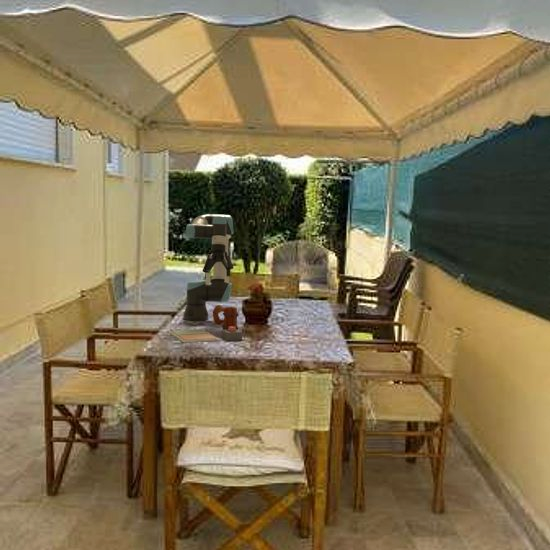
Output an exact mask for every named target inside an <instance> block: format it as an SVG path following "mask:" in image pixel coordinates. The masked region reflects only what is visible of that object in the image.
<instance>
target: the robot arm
mask: <svg viewBox="0 0 550 550" xmlns="http://www.w3.org/2000/svg"><path fill="white" fill-rule="evenodd" d="M185 230H186V231H185V234H186V235H185V236H186V238H189V239H190V238H191V239H211V254H207V256H206V257H207V258H206V260H205V262H204V266H203V267H202V270H201V271H202V273H204V275H205V276H204V279H196V280H195V279H194V280H190V281H188V282H187V285H186V306H185V309H184V313H183V314H182V315H183V317H182V318H183V319H184V320H186V321H187V320H188V321H196V322H197V321H199V322H200V321H208V320H209V312H208V309H207V303H227V302H229V301H230V299H231V292H232V287H233V286H232V285H233V283H231V282H230V281H231V280H230V276H231V270H234V264H233V262H232V260H231V258H230V252H229V239H231V238H232V235H234V233H235V232H234V224H233V217H232V216H231V215H230V214H210V213H206V214H201V215H198V216H197V217H195V218H193V220H192V223H191V224H190V223H188V224H187V225H186V229H185ZM211 271H213V272H212V273H213V274H212V277H211Z"/></svg>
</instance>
